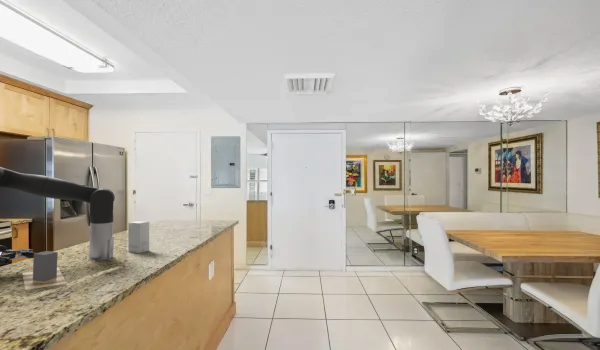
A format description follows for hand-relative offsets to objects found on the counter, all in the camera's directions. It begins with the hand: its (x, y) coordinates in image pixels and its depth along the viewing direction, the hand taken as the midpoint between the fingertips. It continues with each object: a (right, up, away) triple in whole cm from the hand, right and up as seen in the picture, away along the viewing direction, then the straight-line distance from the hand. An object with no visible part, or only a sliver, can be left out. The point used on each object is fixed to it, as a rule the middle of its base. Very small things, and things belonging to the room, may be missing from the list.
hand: (22, 258), depth 112 cm
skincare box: (+17, -10, +48) cm, 52 cm away
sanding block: (+10, -7, -2) cm, 13 cm away
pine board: (+7, -9, +1) cm, 11 cm away
